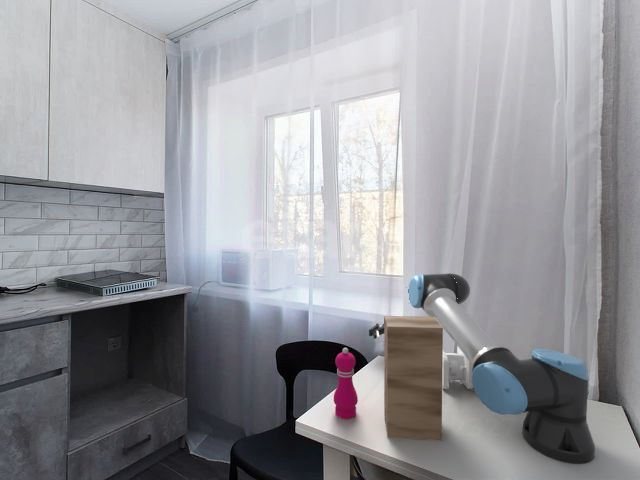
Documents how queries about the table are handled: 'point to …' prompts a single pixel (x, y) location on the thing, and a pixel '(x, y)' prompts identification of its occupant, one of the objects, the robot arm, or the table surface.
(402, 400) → the walnut stand
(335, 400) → the pepper mill
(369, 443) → the table surface
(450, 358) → the cable organizer
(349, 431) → the table surface
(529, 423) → the robot arm
